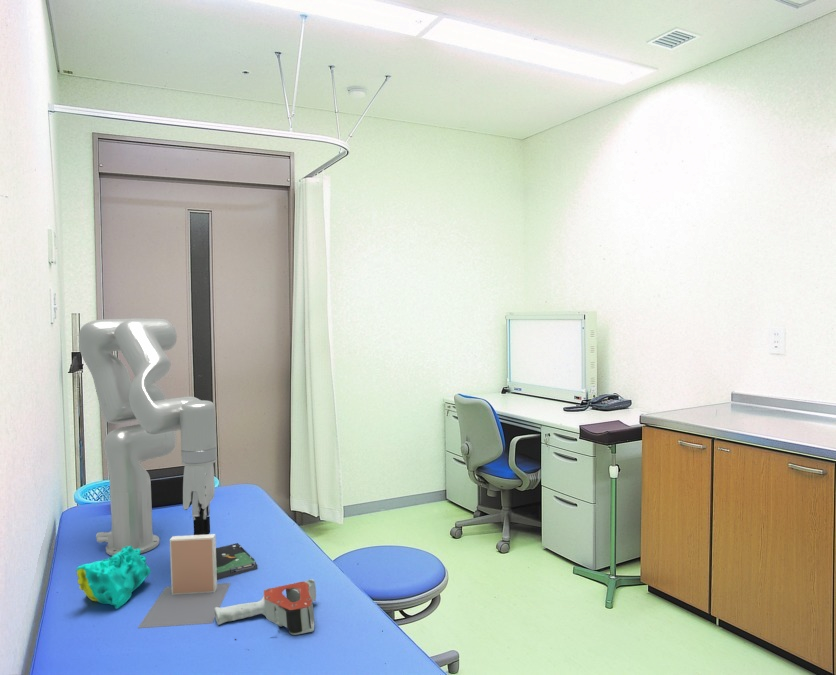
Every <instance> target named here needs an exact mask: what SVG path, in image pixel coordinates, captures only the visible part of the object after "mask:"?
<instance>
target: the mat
mask: <svg viewBox="0 0 836 675" xmlns="http://www.w3.org/2000/svg"><path fill="white" fill-rule="evenodd" d="M230 587H231V582H223V583H217V589H216V591H215V592H209V593H193V594H177V595H172V587H171V586H165V587H164V589H163V590H162V591H161V593H160V594H159V596H158V597H157V598H156V600H155V601H154V603H153V604H152V606H151V607H150V609H149V610H148V612H147V613H146V615H145V616H144V617H143V619H142V620H141V622H140V624H139V625H138V626H137V629H147V628H148V629H150V628H162V627H177V626H178V627H179V626H195V625H208V624H213V622H214V621H215V620H216V618H215V611H214V609H215V608H216V607H219V608H221V606H222V604H223V601H224V599H225V597H226V594H227V592H228V591H229V590H228V589H230Z"/></svg>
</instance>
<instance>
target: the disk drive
mask: <svg viewBox="0 0 836 675" xmlns="http://www.w3.org/2000/svg"><path fill="white" fill-rule="evenodd" d="M216 567H217V581H218V580H221V579H222V580H223V579H227V578H229V577H233V576H237V575H241V574H245V573H249V572H252V571H257V570H258V564H257V561H256V560H255V559H254V557H252V556H251V554H249V553H248V552H247V551H246V550H245V549H244V547H242V545H241V544H239V543H238V542H237V543H231V544H227V545H225V546H224V545H223V546H220V547H216Z"/></svg>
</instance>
